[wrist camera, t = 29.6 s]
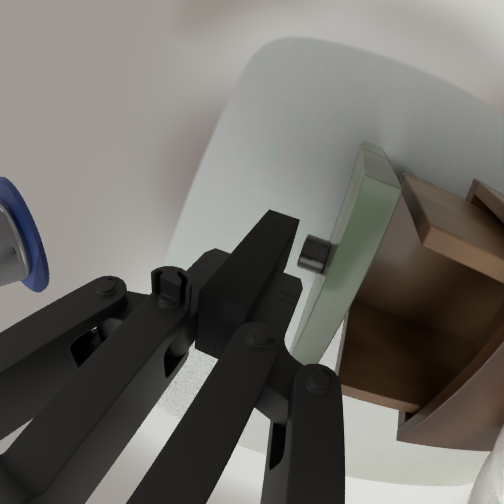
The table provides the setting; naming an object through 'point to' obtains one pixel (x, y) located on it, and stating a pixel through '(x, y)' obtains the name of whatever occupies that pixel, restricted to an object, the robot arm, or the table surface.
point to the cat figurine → (490, 476)
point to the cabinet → (466, 383)
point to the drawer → (401, 286)
